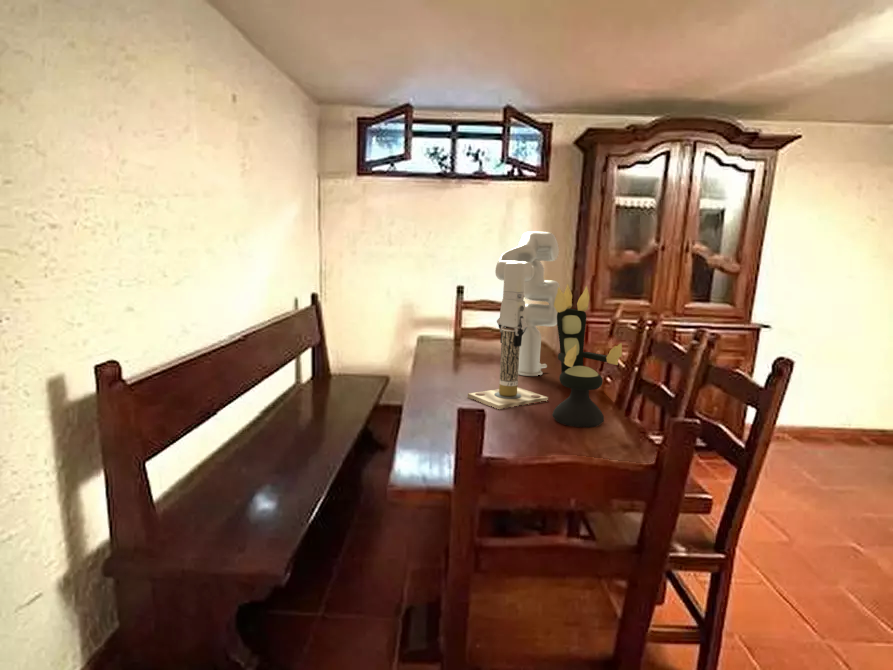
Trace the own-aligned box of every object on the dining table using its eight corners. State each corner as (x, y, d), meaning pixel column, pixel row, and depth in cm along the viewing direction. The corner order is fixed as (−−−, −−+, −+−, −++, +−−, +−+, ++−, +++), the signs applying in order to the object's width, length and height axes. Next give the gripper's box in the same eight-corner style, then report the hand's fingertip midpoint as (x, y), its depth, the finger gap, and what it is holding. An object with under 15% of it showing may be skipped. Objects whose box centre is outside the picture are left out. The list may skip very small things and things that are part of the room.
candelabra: (568, 432, 184) (579, 288, 177) (531, 412, 204) (539, 282, 197) (617, 426, 192) (629, 288, 185) (576, 408, 212) (585, 283, 205)
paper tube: (495, 394, 220) (498, 328, 216) (506, 391, 225) (509, 326, 221) (509, 398, 215) (513, 330, 212) (520, 395, 220) (524, 329, 216)
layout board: (515, 390, 235) (516, 386, 234) (547, 401, 220) (548, 396, 220) (467, 397, 221) (467, 393, 221) (498, 409, 206) (498, 404, 206)
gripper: (537, 298, 210) (534, 347, 212) (505, 293, 224) (503, 340, 226) (521, 299, 205) (518, 349, 208) (490, 294, 219) (487, 341, 222)
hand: (510, 344), depth 217 cm, fingers closed on paper tube, 6 cm apart
